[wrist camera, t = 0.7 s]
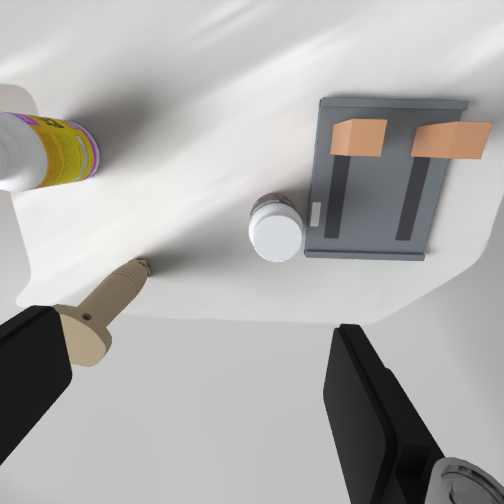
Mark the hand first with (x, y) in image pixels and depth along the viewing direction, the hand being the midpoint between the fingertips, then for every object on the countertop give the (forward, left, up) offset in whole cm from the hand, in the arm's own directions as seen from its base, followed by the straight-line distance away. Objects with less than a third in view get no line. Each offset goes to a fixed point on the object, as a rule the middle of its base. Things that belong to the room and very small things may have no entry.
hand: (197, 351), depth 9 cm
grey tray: (-3, +16, -26) cm, 31 cm away
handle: (+9, -14, -26) cm, 31 cm away
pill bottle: (+1, +4, -26) cm, 27 cm away
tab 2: (-8, +20, -25) cm, 33 cm away
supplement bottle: (-6, -20, -26) cm, 34 cm away
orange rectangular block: (-8, +11, -25) cm, 28 cm away
